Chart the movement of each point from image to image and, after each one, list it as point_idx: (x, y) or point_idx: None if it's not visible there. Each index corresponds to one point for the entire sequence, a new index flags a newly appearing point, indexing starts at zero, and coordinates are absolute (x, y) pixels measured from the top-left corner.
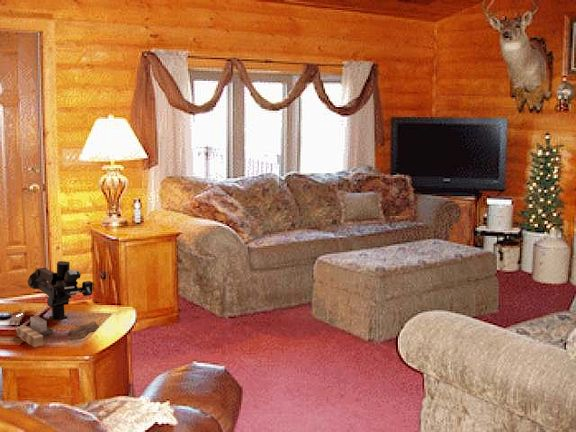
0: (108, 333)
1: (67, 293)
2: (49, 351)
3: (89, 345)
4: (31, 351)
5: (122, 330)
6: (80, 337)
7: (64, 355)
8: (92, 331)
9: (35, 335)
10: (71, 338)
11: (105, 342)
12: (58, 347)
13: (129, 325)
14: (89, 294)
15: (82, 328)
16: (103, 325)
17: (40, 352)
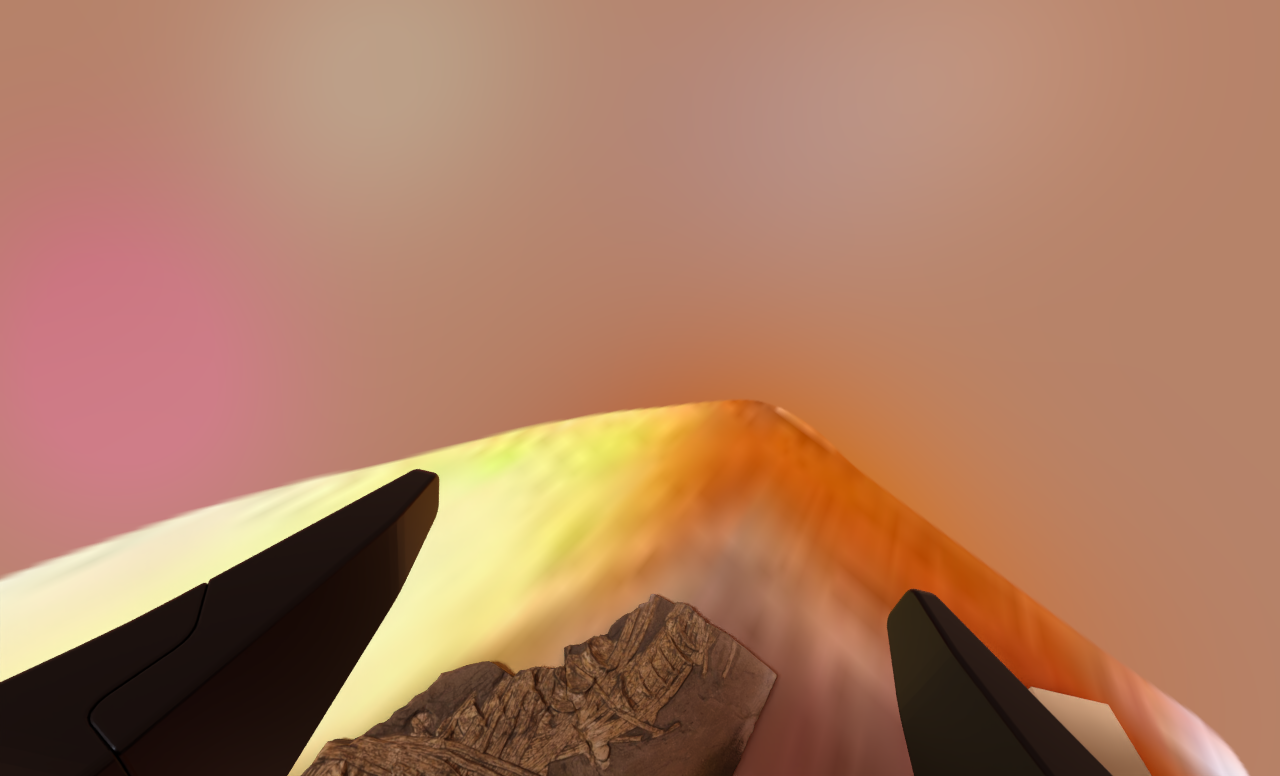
0: (461, 527)
1: (1039, 708)
2: (934, 575)
3: (704, 473)
4: (1051, 668)
5: (337, 492)
6: (685, 607)
7: (864, 475)
8: (500, 671)
9: (1108, 751)
10: (749, 652)
11: (610, 439)
12: (874, 587)
13: (148, 529)
14: (434, 504)
15: None
16: None
17: (988, 604)
